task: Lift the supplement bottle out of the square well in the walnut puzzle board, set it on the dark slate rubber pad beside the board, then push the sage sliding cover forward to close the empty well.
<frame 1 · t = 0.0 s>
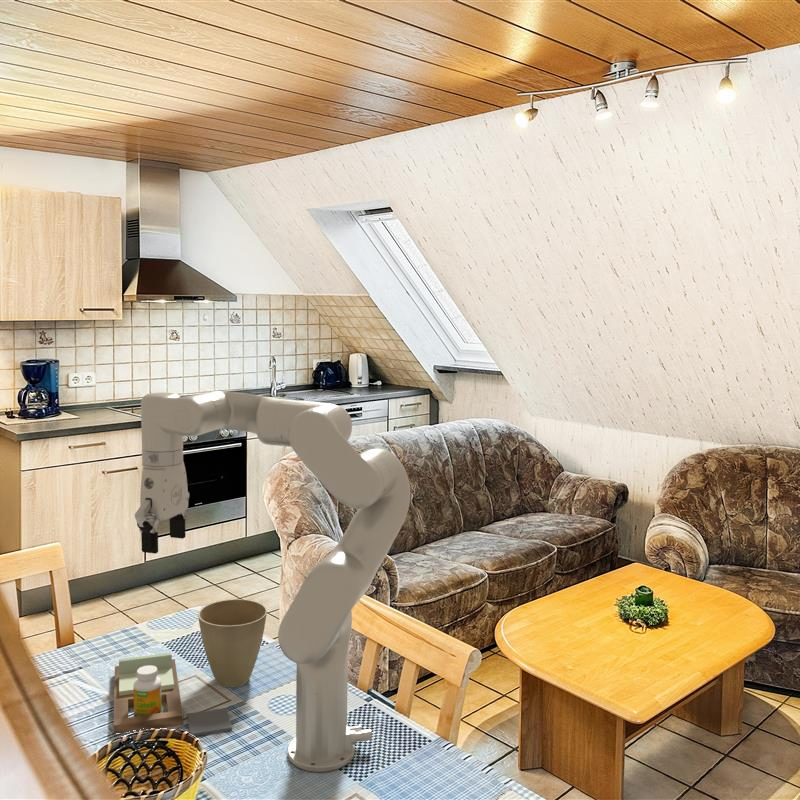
hand: (164, 544, 153), 37 cm above the table, tool pointing down, fingers open, 9 cm apart
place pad: (209, 723, 159), on the table
plant pot: (233, 680, 177), on the table
well board: (146, 698, 168), on the table
slide cover: (146, 673, 171), point 4 cm above the table, slide at 0.0 cm
supplement bottle: (147, 715, 162), resting in well board
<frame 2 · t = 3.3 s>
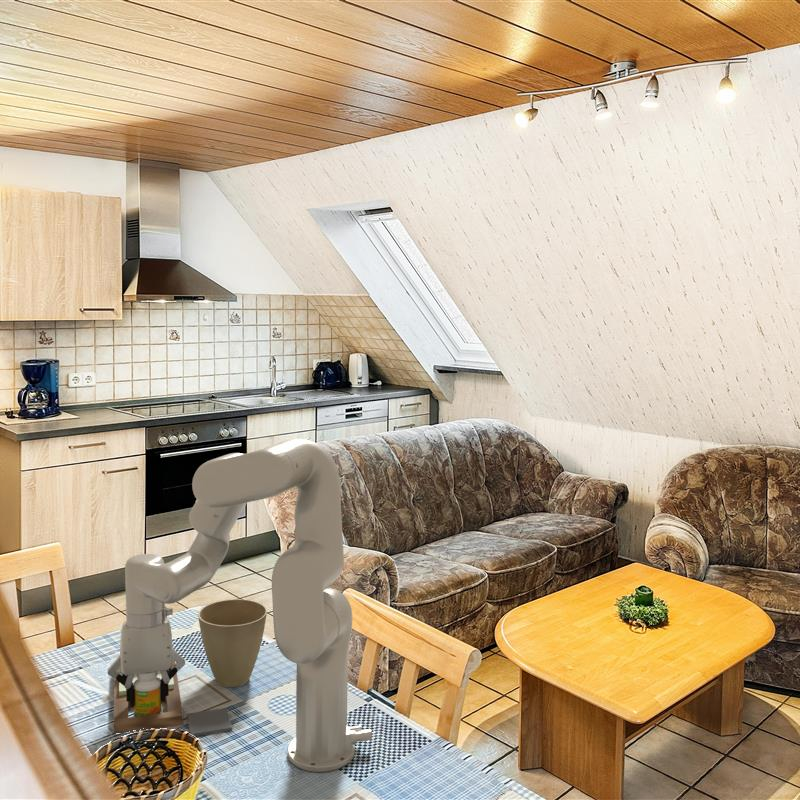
hand: (147, 700, 162), 3 cm above the table, tool pointing down, fingers closed on supplement bottle, 5 cm apart
supplement bottle: (147, 715, 162), resting in well board, touching gripper
everything else where it was.
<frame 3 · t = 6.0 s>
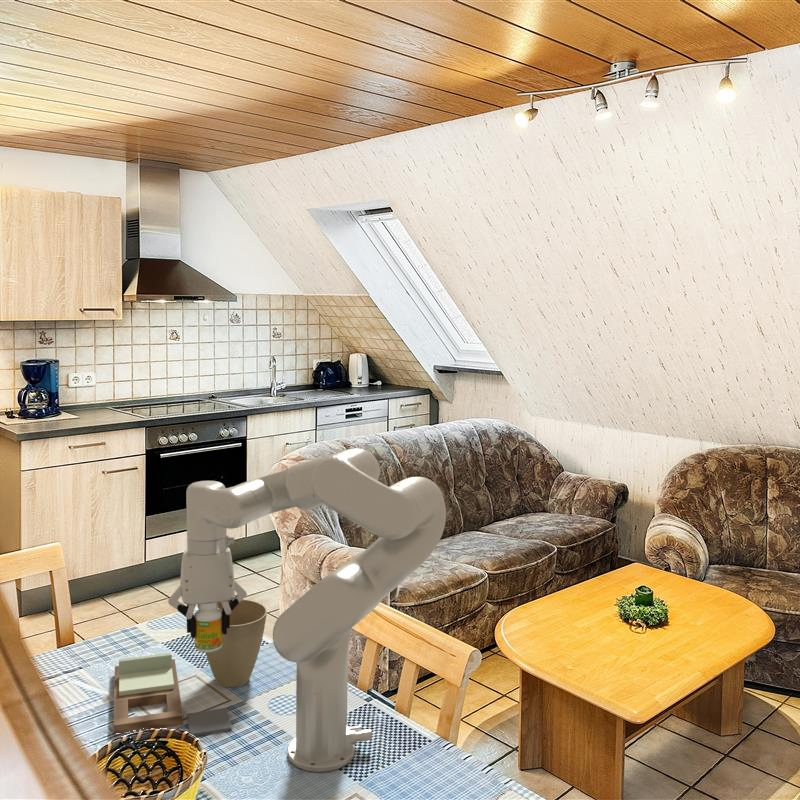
hand: (208, 632, 157), 19 cm above the table, tool pointing down, fingers closed on supplement bottle, 5 cm apart
supplement bottle: (208, 648, 157), point 16 cm above the table, touching gripper
everything else where it was.
when the fingers open (5 cm above the table, at t = 9.0 s): supplement bottle drops 1 cm, resting on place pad.
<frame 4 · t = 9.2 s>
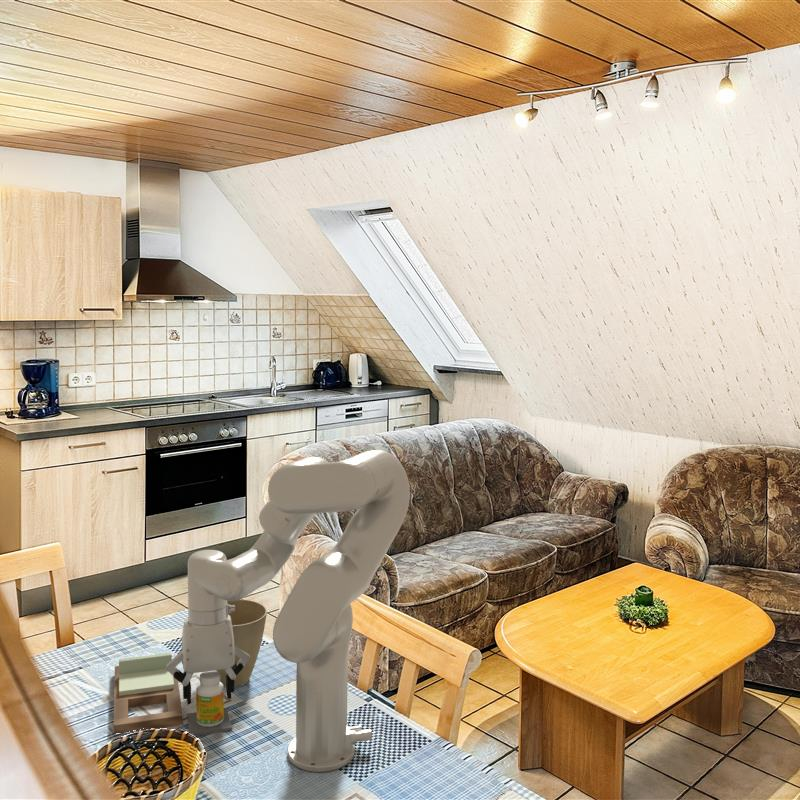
hand: (208, 697, 158), 5 cm above the table, tool pointing down, fingers open, 7 cm apart
supplement bottle: (210, 721, 159), resting on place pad
everything else where it was.
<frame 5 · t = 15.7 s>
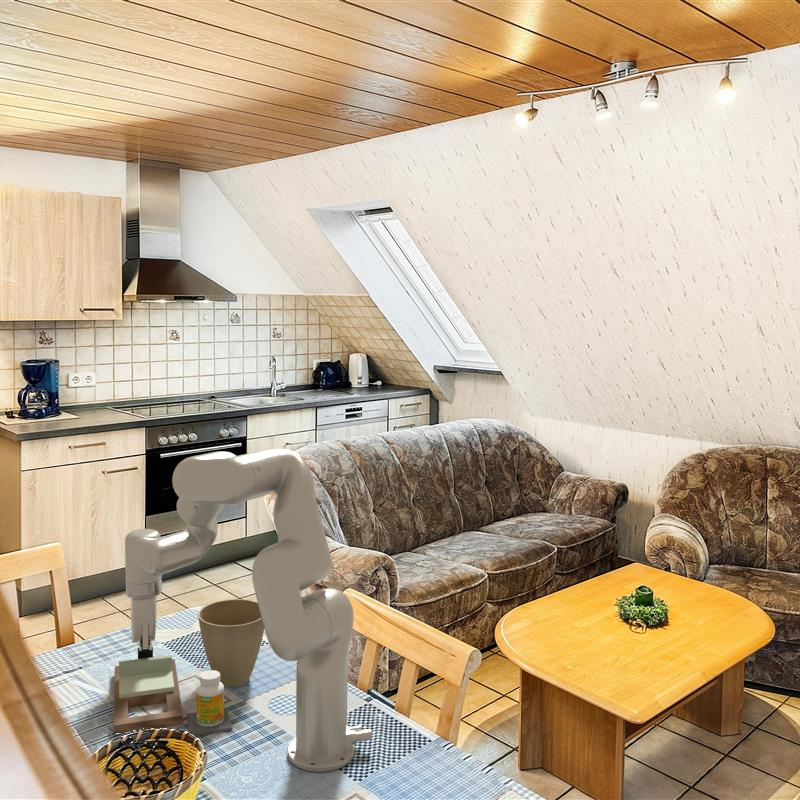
hand: (145, 665, 176), 3 cm above the table, tool pointing down, fingers closed
slide cover: (146, 676, 170), point 4 cm above the table, slide at 1.2 cm, touching gripper
everything else where it was.
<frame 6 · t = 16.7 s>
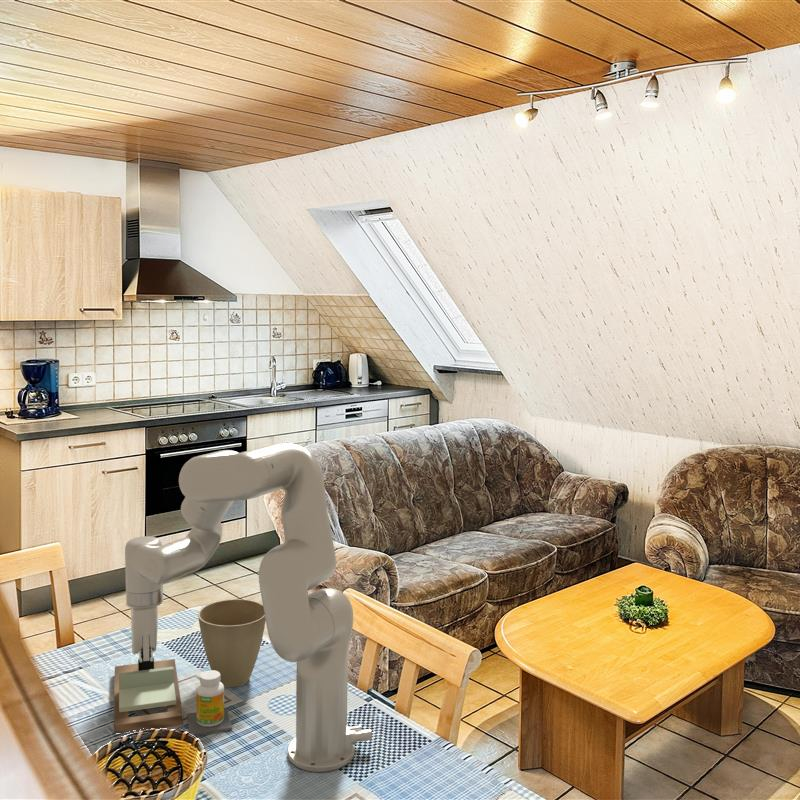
hand: (146, 677, 171), 3 cm above the table, tool pointing down, fingers closed
slide cover: (147, 688, 164), point 4 cm above the table, slide at 7.0 cm, touching gripper
everything else where it was.
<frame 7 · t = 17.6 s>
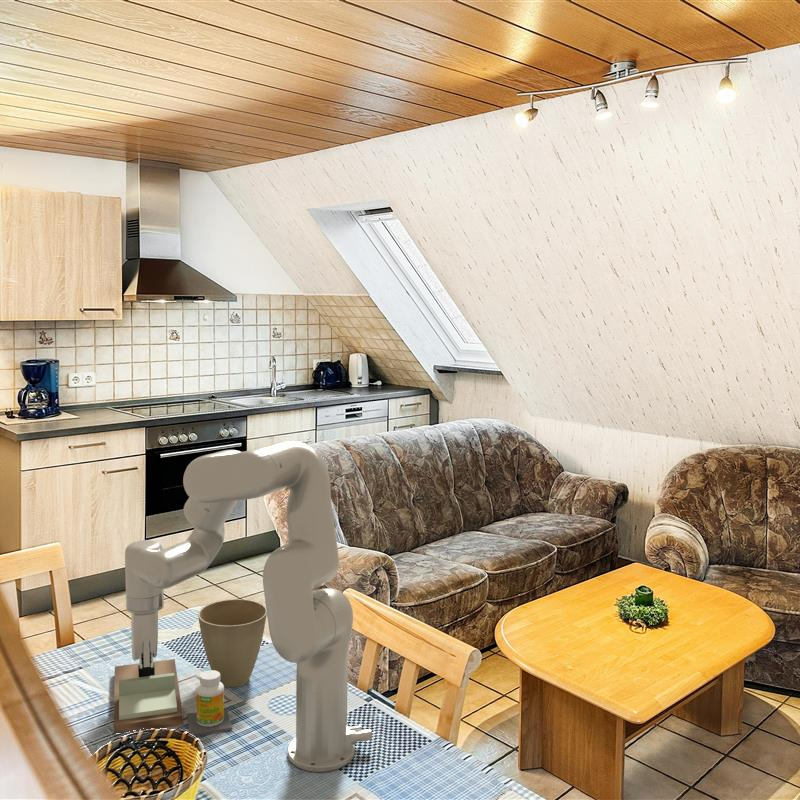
hand: (146, 683, 168), 3 cm above the table, tool pointing down, fingers closed
slide cover: (147, 695, 161), point 4 cm above the table, slide at 10.0 cm, touching gripper
everything else where it was.
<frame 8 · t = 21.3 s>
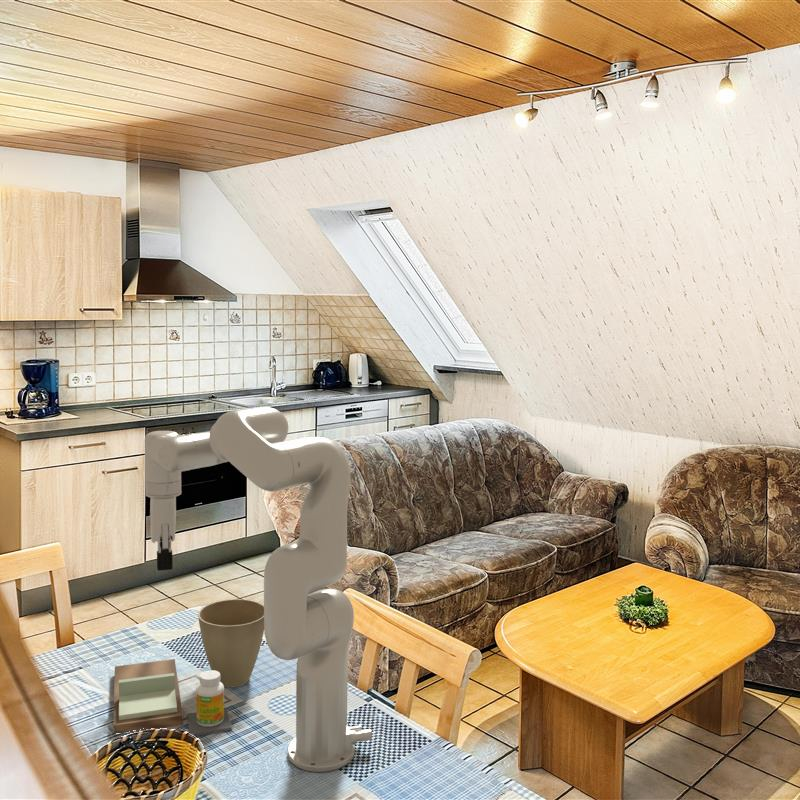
hand: (164, 568, 175), 25 cm above the table, tool pointing down, fingers closed
slide cover: (147, 695, 161), point 4 cm above the table, slide at 10.0 cm
everything else where it was.
at the end: supplement bottle inside the target area (0.3 cm from its centre), resting on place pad; supplement bottle tilted 0°; slide cover slide at 10.0 cm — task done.
